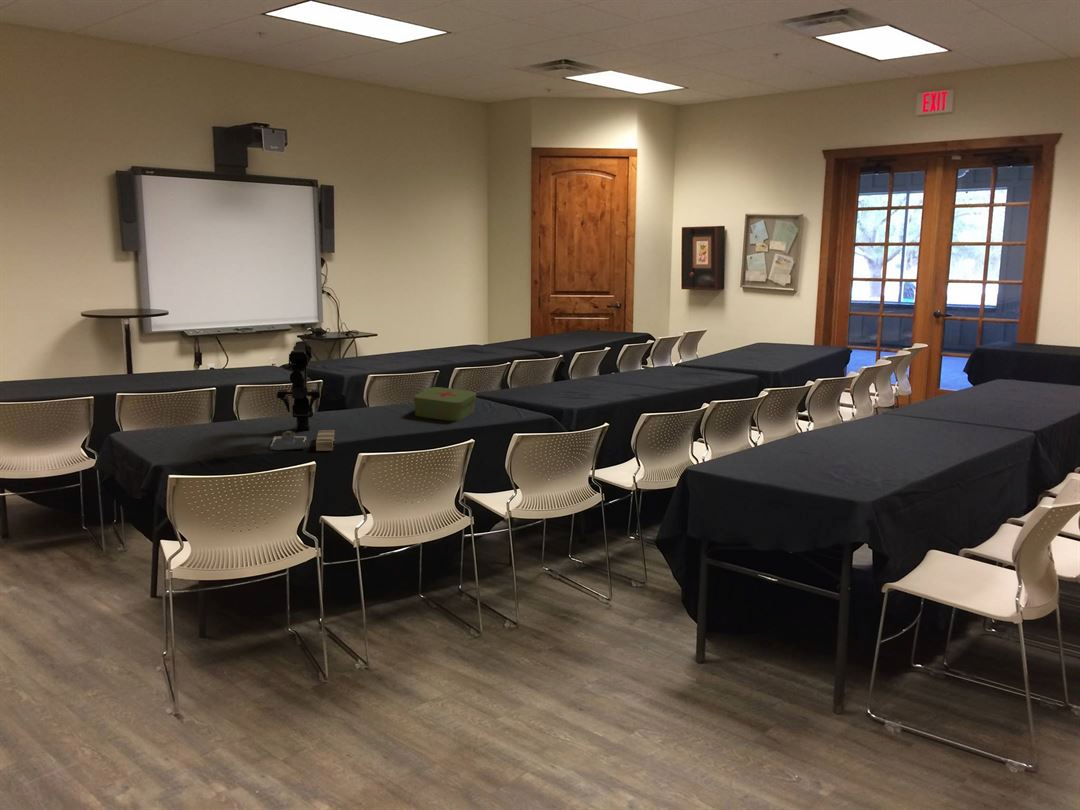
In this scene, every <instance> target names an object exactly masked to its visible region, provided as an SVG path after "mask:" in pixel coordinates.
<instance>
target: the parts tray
mask: <svg viewBox="0 0 1080 810" xmlns="http://www.w3.org/2000/svg"><path fill="white" fill-rule="evenodd" d="M295 438H304V440H303V442H305V440H306V441H307V436H304V435H302V436H301V435H300V436H299V435H298V436H297V435H295ZM276 439H282V435H281V436H280V435H279V436H274V437H273V439H272V442H271V444H270V446H269V447H271V446H273V444H274V442H275V440H276Z"/></svg>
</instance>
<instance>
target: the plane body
mask: <svg viewBox="0 0 1080 810" xmlns="http://www.w3.org/2000/svg"><path fill="white" fill-rule="evenodd" d="M335 431H336V430H334V429H326V430H325V429H324V430H323V429H321V430H320V429H318V432H317V437H316V440H315V451H316V452H322V451H323V452H325V451H326V452H328V451H330V452H331V451H334V445H333V441H334V442H335V439H334V437H335V438H336V436H335Z"/></svg>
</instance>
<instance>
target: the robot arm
mask: <svg viewBox="0 0 1080 810" xmlns="http://www.w3.org/2000/svg"><path fill="white" fill-rule="evenodd" d="M292 349H293V350H291V351H290V353H288V367H287V368H288V369H291V372H290V374H289V380H290V382H291V384H292V385H291V391H288V390H287V389H278V391H277V392H276V399H279V401H282V402H283V403H284V405H285V407H286V410H287V412H288V413H291V411H290V410H291V409H292V418H295V422H296V426H295V429H294V430H295V431H310V430H311V425H310V418H312V417H314V410H313V405H314V402H315V401H317V400H318V399H320V398H321V396H322V393H321V390H320V389H310V390H311V391H308V389H309V388H308V367H309V366H310V364H311V362H312V359H313V348H312V346H309V344H308V342H307V341H297V342H295V345H294V346H293V348H292ZM289 397H291V398H292V399H293V404H292V407H291V409H290V402H289ZM309 397H310V399H309Z"/></svg>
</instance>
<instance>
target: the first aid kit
mask: <svg viewBox="0 0 1080 810" xmlns="http://www.w3.org/2000/svg"><path fill="white" fill-rule="evenodd" d="M476 399H477V393H476V392H475V391H471V390H464V389H457V388H456V389H455V388H448V387H442V386H441V387H439V386H434V387H429V388H428V389H426V390H424V391H421V392H420V393H417V394H415V395H414V396H413V403H414V404H415V405H414V415H415V416H417V417H420V418H429V419H435V420H443V421H449V422H450V421H451V422H459V421H461V420H463V419H465V418H466V417H468V416H469V415H471V414H472V413H474V412H475V400H476Z"/></svg>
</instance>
